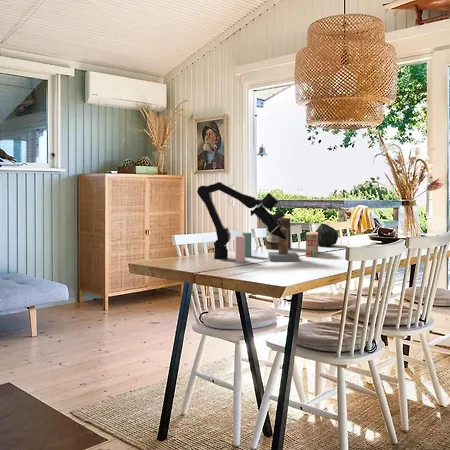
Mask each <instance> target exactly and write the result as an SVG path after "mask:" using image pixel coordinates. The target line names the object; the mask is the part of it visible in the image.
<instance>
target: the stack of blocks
mask: <svg viewBox="0 0 450 450" xmlns="http://www.w3.org/2000/svg"><path fill="white" fill-rule="evenodd" d="M318 256H319V246H318V232H316V231H315V232H314V231H310V232H309V231H307V232H305V257H307V258H318Z"/></svg>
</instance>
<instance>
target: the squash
mask: <svg viewBox="0 0 450 450" xmlns="http://www.w3.org/2000/svg"><path fill="white" fill-rule="evenodd" d="M315 232H318V245H319V246H318V247H325V246H327V247H329V246H330V247H332V246H334V245H336V244H337V242H338V238H339V234H338V231H337V230H336V229H335V228H333V227H332V226H330V225H328V224H326V223H323V222H322V223H320V225H319V226H318V227H317V228H316V230H315Z"/></svg>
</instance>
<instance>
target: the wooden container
mask: <svg viewBox="0 0 450 450" xmlns="http://www.w3.org/2000/svg"><path fill="white" fill-rule="evenodd" d="M276 213H277V211H276V212H275V213H274V214H276ZM277 220H280V221H281V223H282V229H288V250H290V249H291V239H292V237H291V235H292V233H291V218H290V217H289V218H288V217H281V218H279V219H277ZM281 223H280V224H281ZM280 224H279V225H280ZM272 232H273V231H272ZM272 232H271V233H272ZM271 233H269V231H268V228H267V226H266V225H265V248H266V249H267V250H271V251H273V250H274V251H279V237H278V236H276V235H273V234H271Z"/></svg>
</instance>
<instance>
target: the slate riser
mask: <svg viewBox="0 0 450 450" xmlns="http://www.w3.org/2000/svg"><path fill="white" fill-rule="evenodd" d="M299 256H300V255H299V254H298V253H297V252H296V251H288V254H279V251H269V252H268V257H267V258H268V259H269V261H270V262H299V260H300V257H299Z"/></svg>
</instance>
